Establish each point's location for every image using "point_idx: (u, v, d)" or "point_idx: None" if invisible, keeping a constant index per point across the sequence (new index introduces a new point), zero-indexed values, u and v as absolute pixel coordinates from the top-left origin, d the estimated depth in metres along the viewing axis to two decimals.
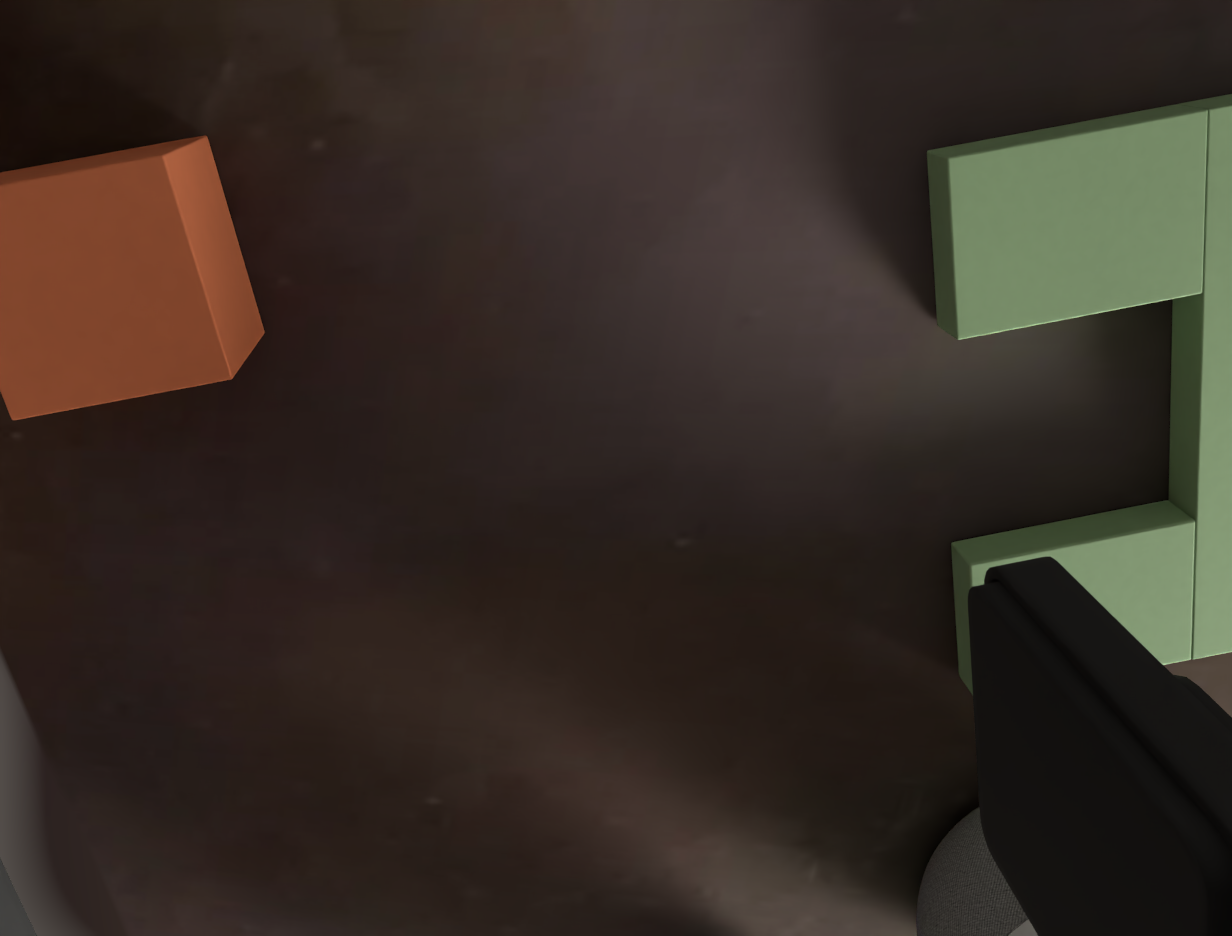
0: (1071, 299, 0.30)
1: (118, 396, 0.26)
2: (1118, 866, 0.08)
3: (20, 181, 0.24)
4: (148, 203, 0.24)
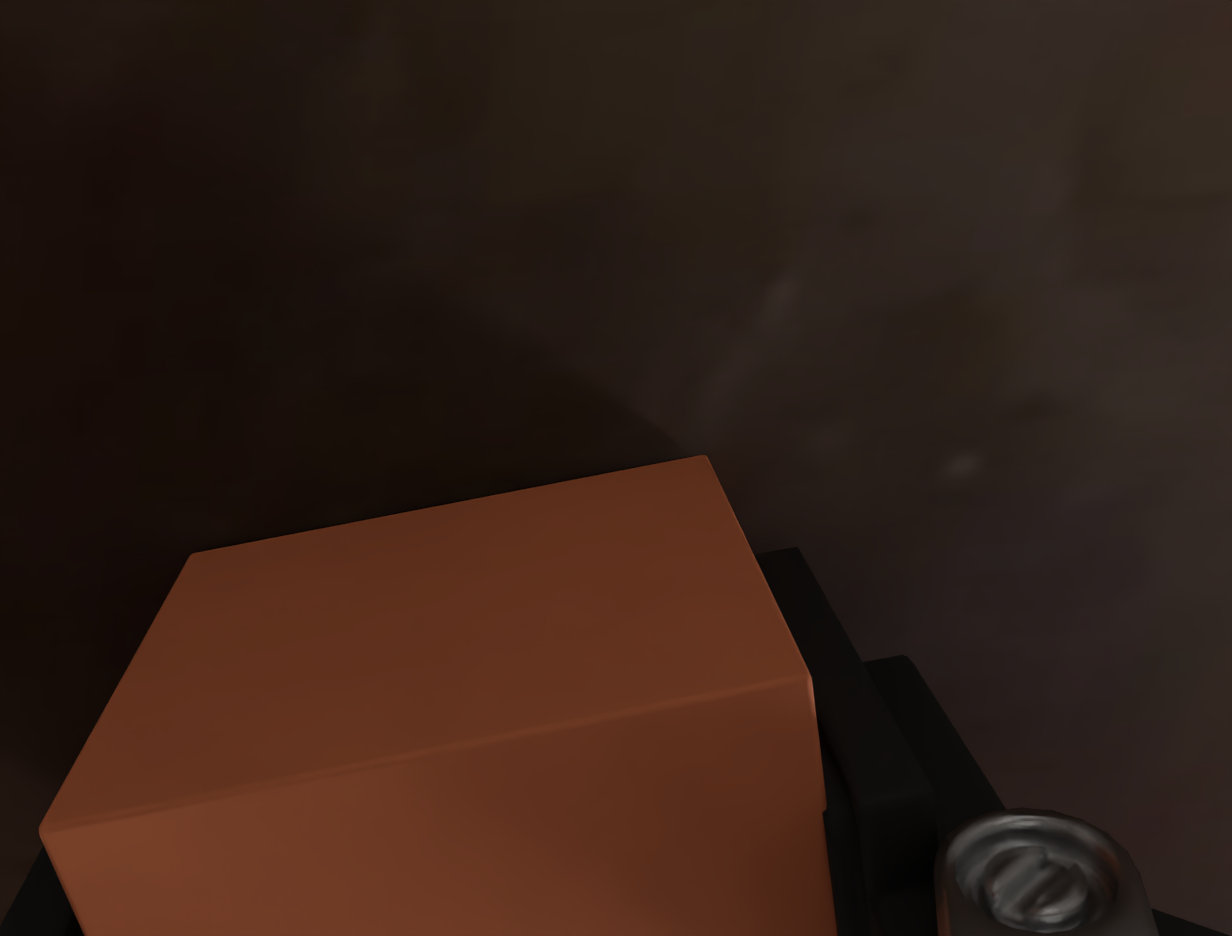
0: None
1: None
2: None
3: (349, 769, 0.07)
4: (739, 808, 0.08)
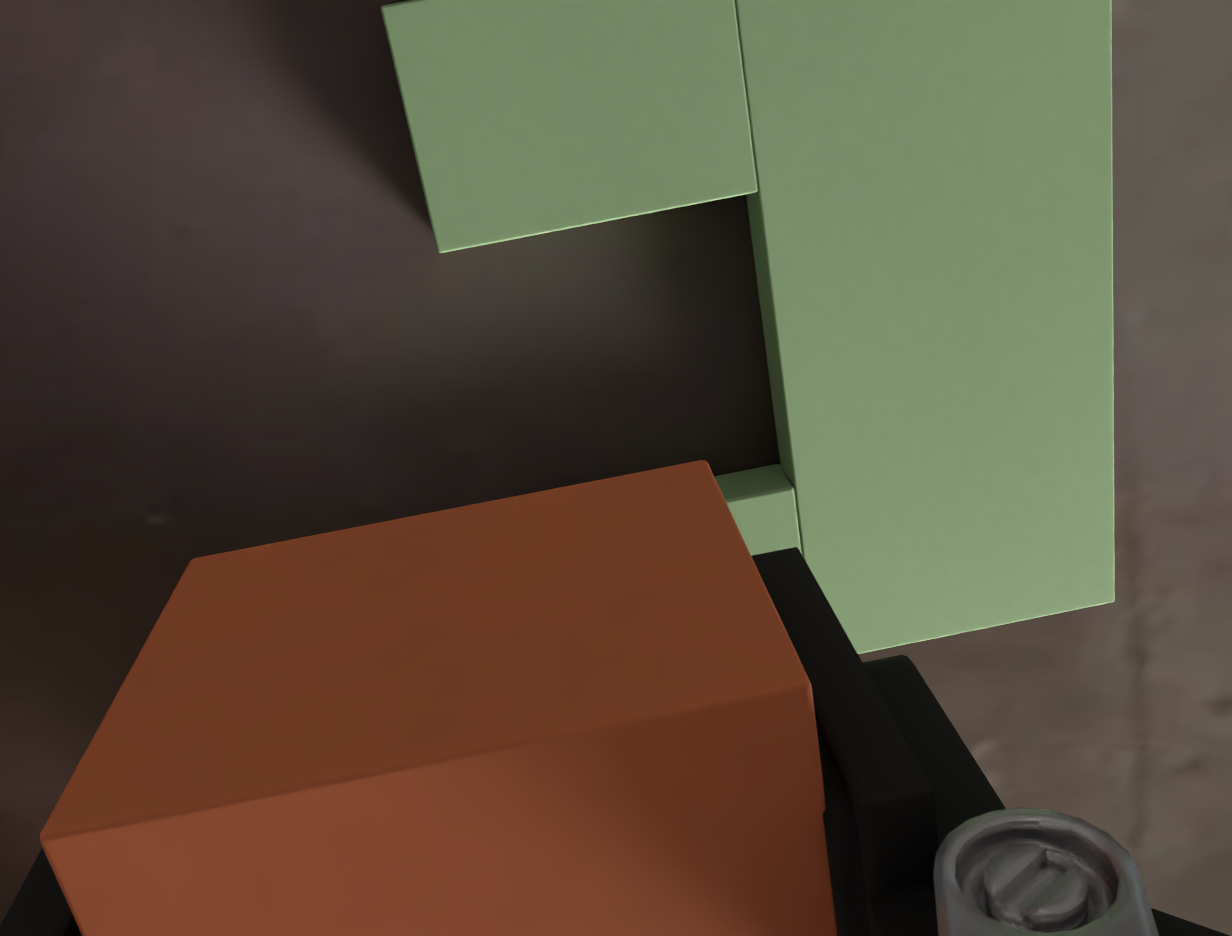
0: (582, 199, 0.23)
1: None
2: None
3: (350, 776, 0.07)
4: (738, 815, 0.08)
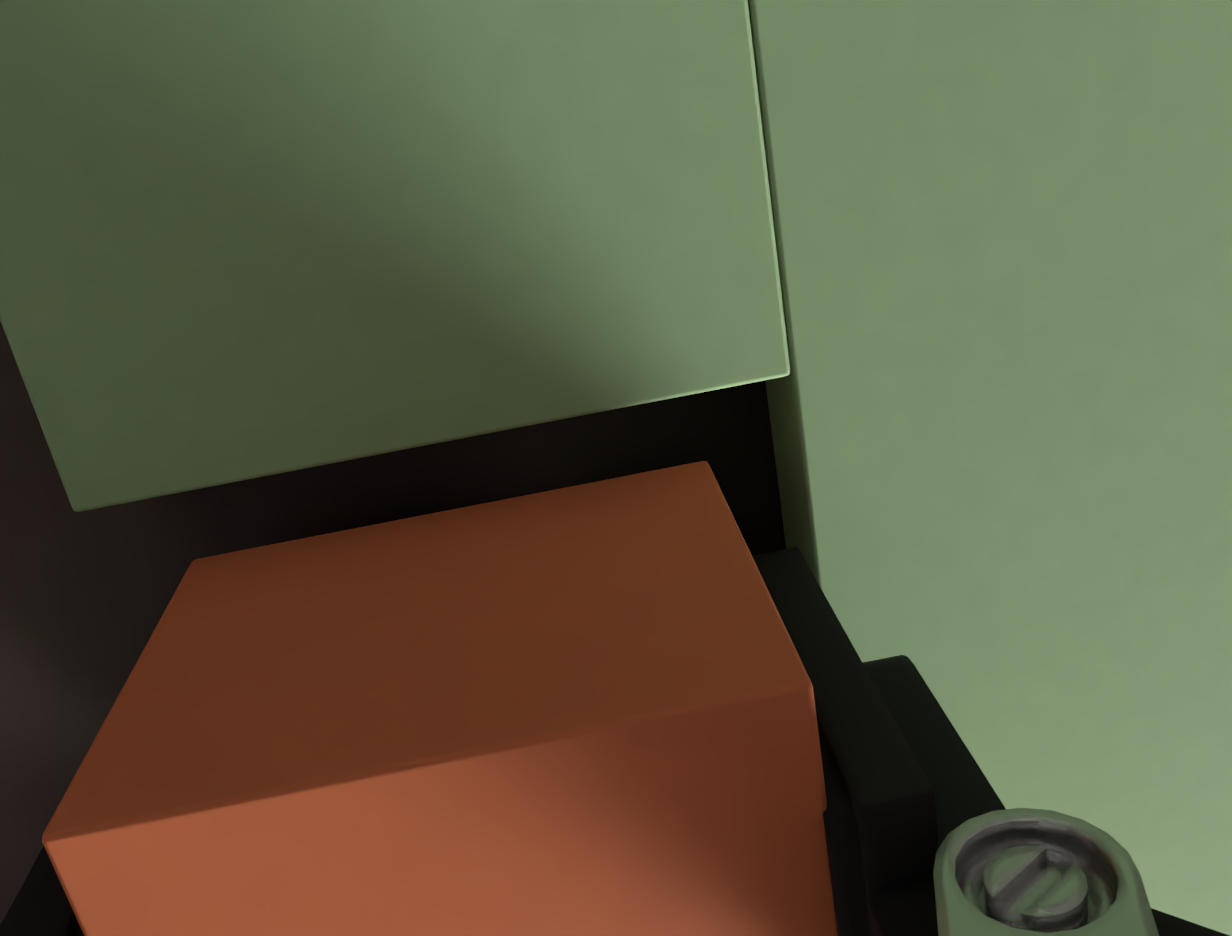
0: (396, 396, 0.10)
1: None
2: None
3: (352, 776, 0.07)
4: (740, 816, 0.08)
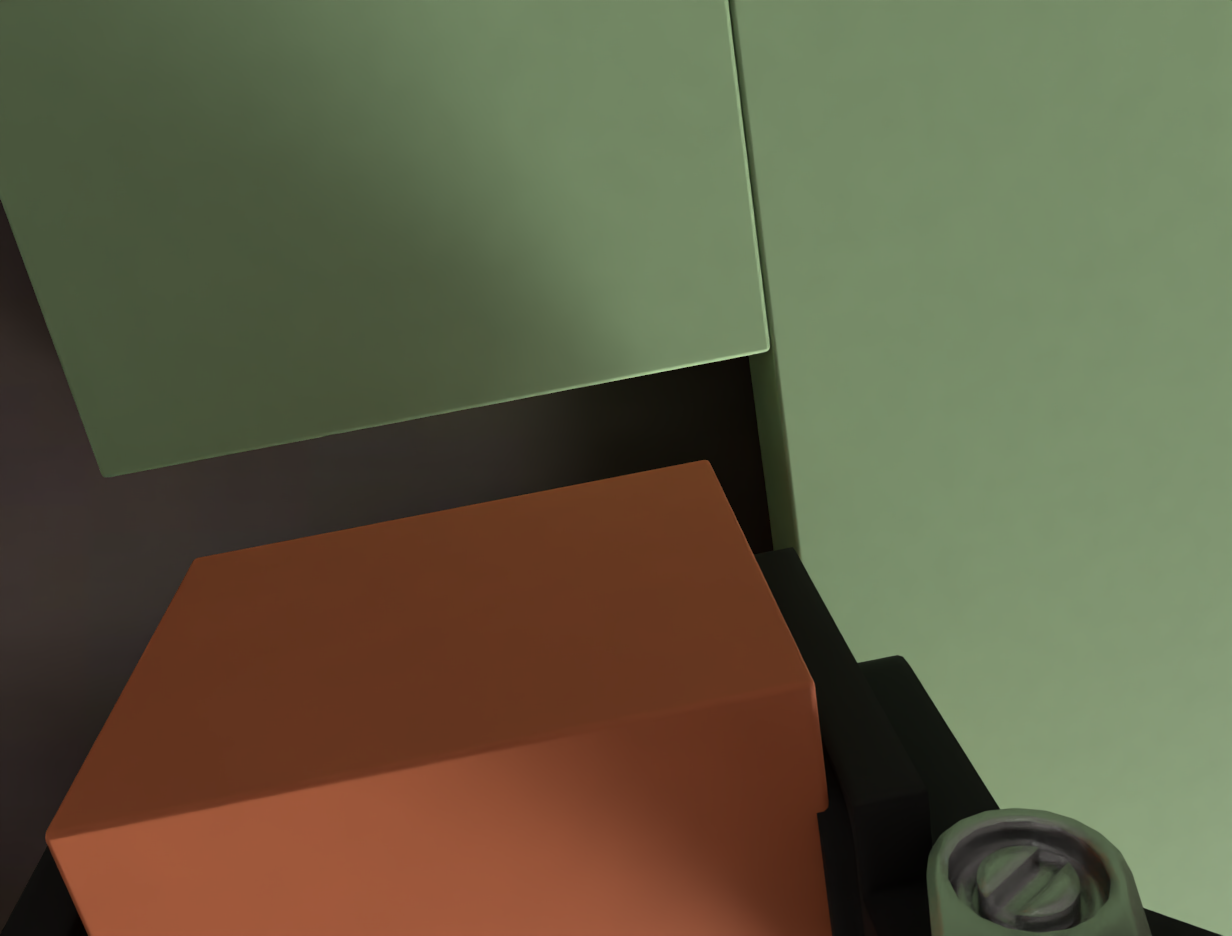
0: (402, 369, 0.11)
1: None
2: None
3: (354, 775, 0.07)
4: (741, 814, 0.08)
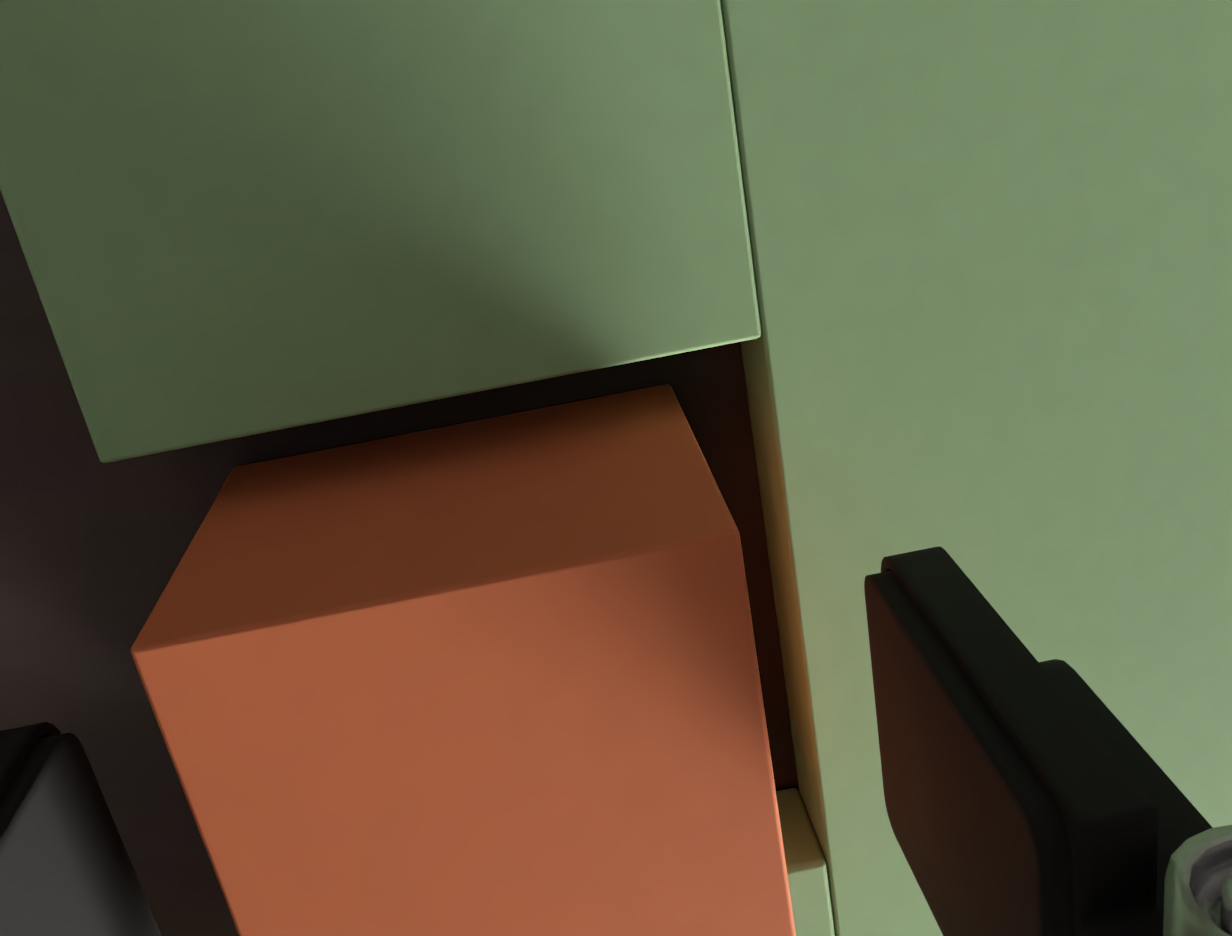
0: (397, 355, 0.11)
1: None
2: (979, 836, 0.09)
3: (375, 603, 0.09)
4: (684, 642, 0.10)
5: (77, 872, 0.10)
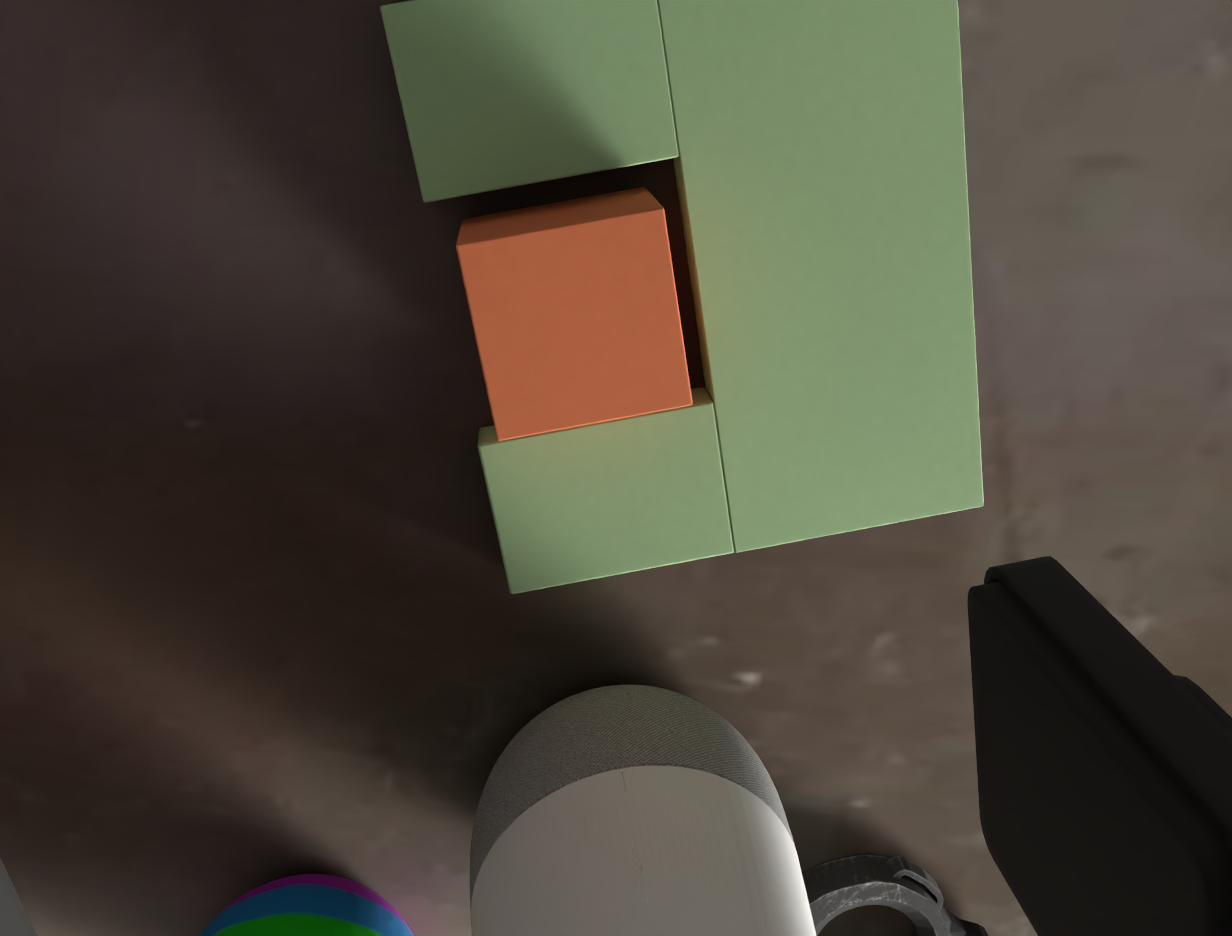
0: (538, 160, 0.29)
1: (592, 420, 0.29)
2: (1118, 866, 0.08)
3: (539, 230, 0.27)
4: (644, 250, 0.28)
5: None
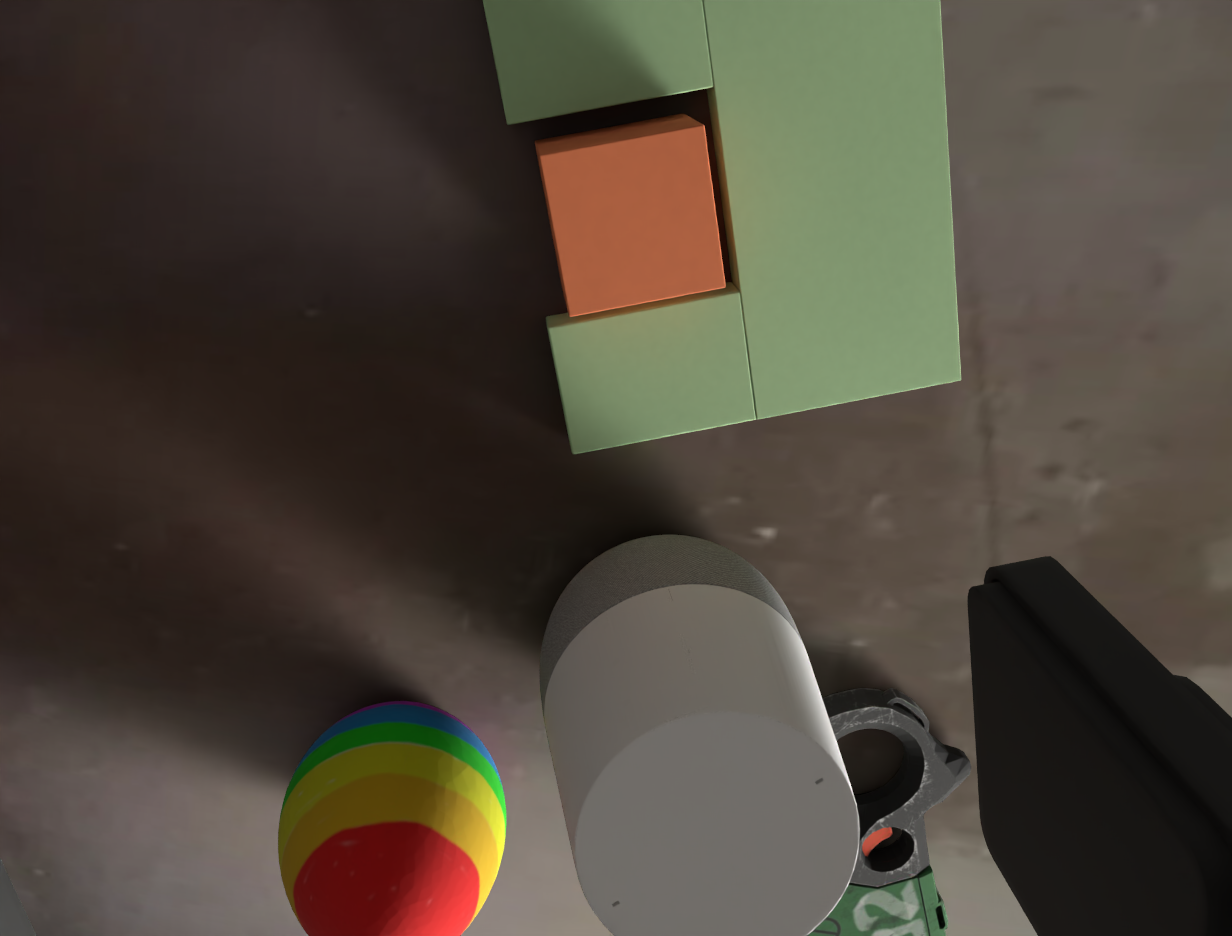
0: (600, 90, 0.36)
1: (645, 300, 0.36)
2: (1118, 865, 0.08)
3: (605, 143, 0.34)
4: (689, 159, 0.35)
5: None
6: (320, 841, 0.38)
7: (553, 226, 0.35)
